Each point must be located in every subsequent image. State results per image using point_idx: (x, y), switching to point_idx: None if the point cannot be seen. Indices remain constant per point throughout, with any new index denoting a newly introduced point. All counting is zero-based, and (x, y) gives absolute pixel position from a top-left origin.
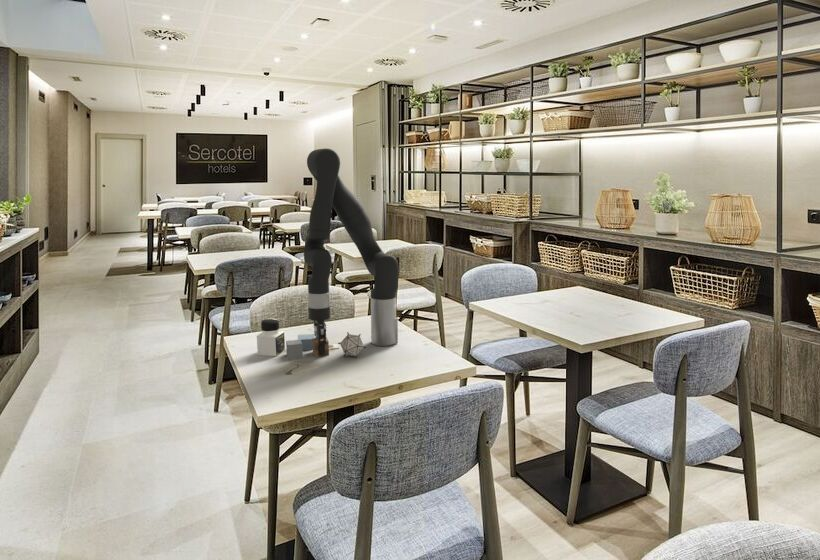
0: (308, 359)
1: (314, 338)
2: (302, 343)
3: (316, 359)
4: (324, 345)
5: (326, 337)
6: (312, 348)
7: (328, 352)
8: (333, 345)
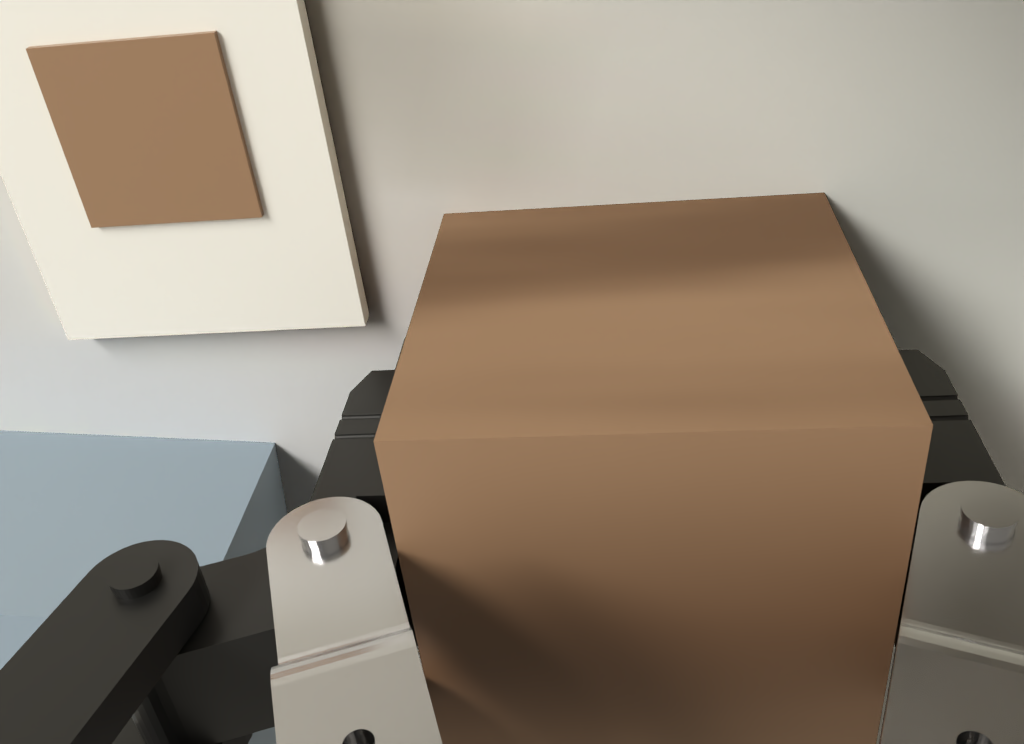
0: None
1: (461, 730)
2: (274, 737)
3: (1018, 466)
4: (946, 473)
5: (407, 448)
6: (281, 498)
7: (842, 238)
8: (54, 24)
